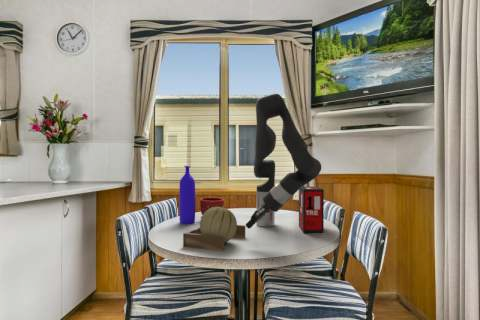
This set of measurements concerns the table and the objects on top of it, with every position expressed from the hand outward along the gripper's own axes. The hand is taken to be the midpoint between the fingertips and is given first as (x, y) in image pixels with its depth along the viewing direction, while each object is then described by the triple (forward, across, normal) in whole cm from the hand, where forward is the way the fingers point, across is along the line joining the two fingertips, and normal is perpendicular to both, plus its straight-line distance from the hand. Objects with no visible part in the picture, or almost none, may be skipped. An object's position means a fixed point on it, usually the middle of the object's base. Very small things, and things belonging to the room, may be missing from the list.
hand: (247, 226), depth 130 cm
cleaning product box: (-7, -38, +17) cm, 43 cm away
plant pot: (+31, -41, -21) cm, 56 cm away
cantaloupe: (+14, +2, -3) cm, 14 cm away
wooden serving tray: (+15, 0, -4) cm, 15 cm away
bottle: (+38, -30, -27) cm, 55 cm away
